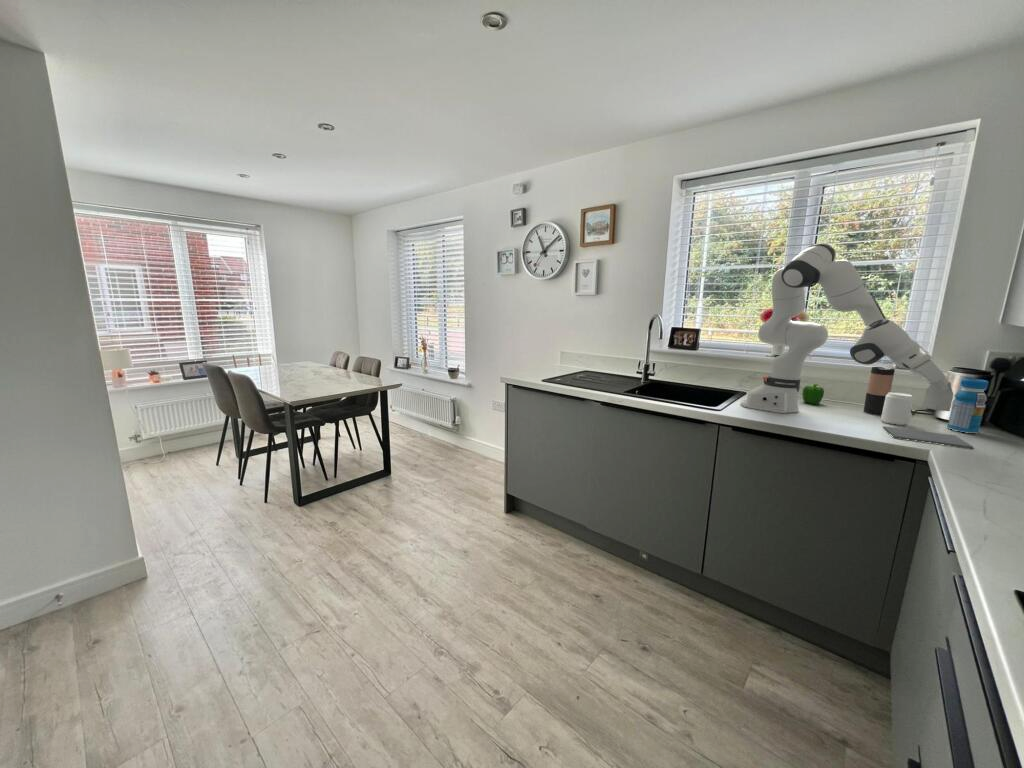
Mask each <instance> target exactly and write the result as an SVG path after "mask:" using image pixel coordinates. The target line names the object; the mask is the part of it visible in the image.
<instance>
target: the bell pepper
mask: <svg viewBox="0 0 1024 768" xmlns="http://www.w3.org/2000/svg"><path fill="white" fill-rule="evenodd" d="M818 385H819V384H818V383H816V382H815V383H814V384H813V385H812V386H811V385H805V387H803V389H802V400H803V402H804V403H806V404H811V405H818V404H820V403H821V401H822V399H823V397H824V396H825V395H824V394H825V390H824V387H819V386H818Z"/></svg>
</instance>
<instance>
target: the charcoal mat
mask: <svg viewBox="0 0 1024 768" xmlns="http://www.w3.org/2000/svg"><path fill="white" fill-rule="evenodd" d="M883 428H884V429H885V430H886V431H887V432H886V431H885V430H884V429H883ZM882 429H883V430H884V431H885V432H886V433H888V434H889V435H890V434H891V435H892V436H893V437H894V438H893V437H892V436H891V435H890V436H891V437H892V438H893V439H896V438H901V439H900V440H903V439H909V440H908V441H910V440H917V441H916V442H918V441H924V442H923V443H925V442H931V443H930V444H932V443H938V444H937V445H939V444H944V445H943V446H947V445H950V446H949V447H954V446H955V448H956V447H957V448H961V447H962V448H963V449H968V448H969V449H968V450H974V446H973V445H972V444H971V443H968V442H967V441H965V440H964V439H962V438H960V437H959V436H957V435H956V434H955V435H953V434H946V433H941V432H939V433H938V432H933V431H924V430H923V431H922V430H916V429H908V428H902V427H901V428H900V427H894V426H893V427H891V426H882Z"/></svg>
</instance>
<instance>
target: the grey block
mask: <svg viewBox="0 0 1024 768" xmlns="http://www.w3.org/2000/svg"><path fill="white" fill-rule="evenodd" d="M943 381H944V383H945V384H946V385H947V386H948V387H949V389H947V390H945V391H943V390H941V389H940V388H939V387H938V386H937V385H936V384H933V383H932V384H929V385H928V387H927V388H926V389H925V394H924V398H923V402H922V406H923V407H926V408H928V409H932V410H934V411H940V412H941V411H942V412H951V408H952V407H951V406H952V403H953V399H954V396H955V395H954V391H953V389H952V385H951V382H950V381H946V380H943Z"/></svg>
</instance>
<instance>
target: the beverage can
mask: <svg viewBox="0 0 1024 768" xmlns="http://www.w3.org/2000/svg"><path fill="white" fill-rule="evenodd" d="M913 402H914V397H913V394H909V393H905V392H897V391H896V392H894V391H893V392H891V391H890V392H889V393H888V394H887V395H886V398H885V402H884V407H883V412H882V415H880V420H881V421H882V422H883V423H885V422H886V423H885V424H888V423H890V424H889V425H893V424H896V425H895V426H906V425H908V424H909V421H910V416H911V411H912V408H913V404H914V403H913Z"/></svg>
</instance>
